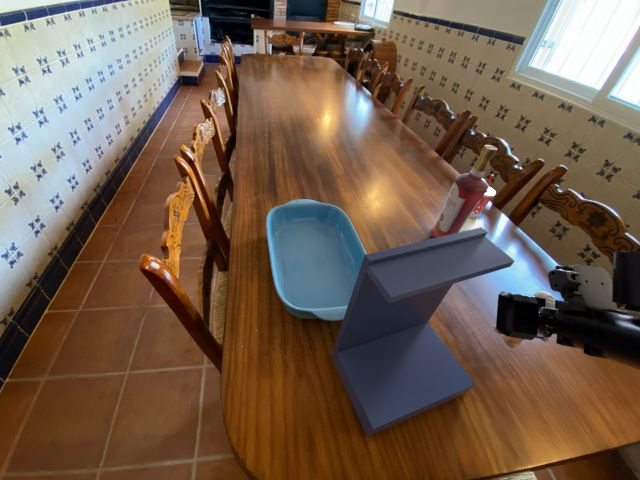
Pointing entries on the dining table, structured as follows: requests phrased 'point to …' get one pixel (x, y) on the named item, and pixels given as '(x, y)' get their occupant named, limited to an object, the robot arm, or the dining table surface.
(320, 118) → the dining table surface
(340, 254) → the casserole dish
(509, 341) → the grandmother figurine
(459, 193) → the liquor
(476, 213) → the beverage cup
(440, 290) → the stand
